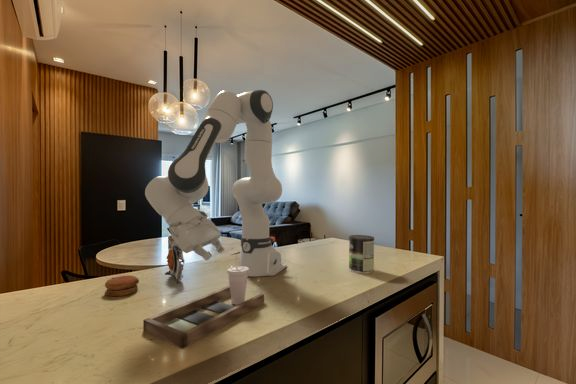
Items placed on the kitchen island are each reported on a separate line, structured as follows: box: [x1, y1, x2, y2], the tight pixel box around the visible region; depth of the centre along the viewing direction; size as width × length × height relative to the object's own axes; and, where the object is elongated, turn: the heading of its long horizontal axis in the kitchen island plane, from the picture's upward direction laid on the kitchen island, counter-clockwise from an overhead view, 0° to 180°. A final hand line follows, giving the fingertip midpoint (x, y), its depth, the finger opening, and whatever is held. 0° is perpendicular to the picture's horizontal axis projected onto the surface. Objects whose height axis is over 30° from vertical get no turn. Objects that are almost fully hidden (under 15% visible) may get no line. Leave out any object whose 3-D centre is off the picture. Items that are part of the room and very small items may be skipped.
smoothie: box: [226, 253, 249, 305], centre depth 80 cm, size 6×6×14 cm
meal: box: [164, 240, 185, 284], centre depth 103 cm, size 15×4×13 cm, turn 36°
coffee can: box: [348, 234, 375, 274], centre depth 115 cm, size 10×10×14 cm
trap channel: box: [142, 285, 265, 349], centre depth 71 cm, size 28×14×2 cm, turn 149°
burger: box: [104, 275, 140, 297], centre depth 88 cm, size 10×9×5 cm
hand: (216, 254), depth 81 cm, fingers open, 8 cm apart
